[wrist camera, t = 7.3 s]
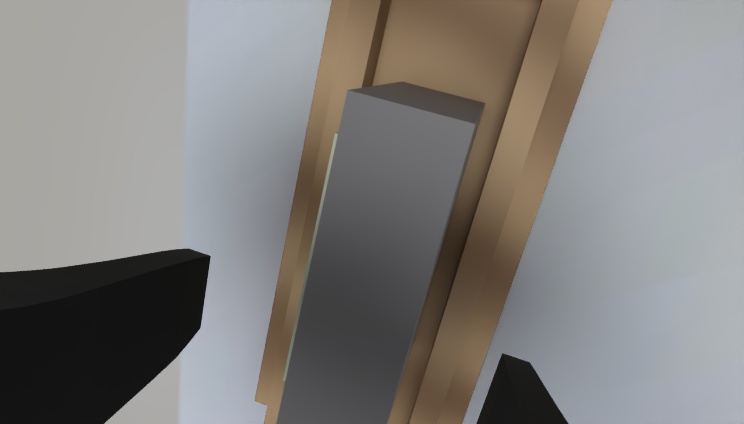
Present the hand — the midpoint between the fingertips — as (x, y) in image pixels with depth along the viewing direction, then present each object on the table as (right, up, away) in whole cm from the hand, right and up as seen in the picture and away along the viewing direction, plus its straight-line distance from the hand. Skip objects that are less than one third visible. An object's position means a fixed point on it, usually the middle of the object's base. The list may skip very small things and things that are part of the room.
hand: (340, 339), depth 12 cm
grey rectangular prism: (+2, +3, +8) cm, 8 cm away
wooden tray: (+2, +2, +9) cm, 9 cm away
